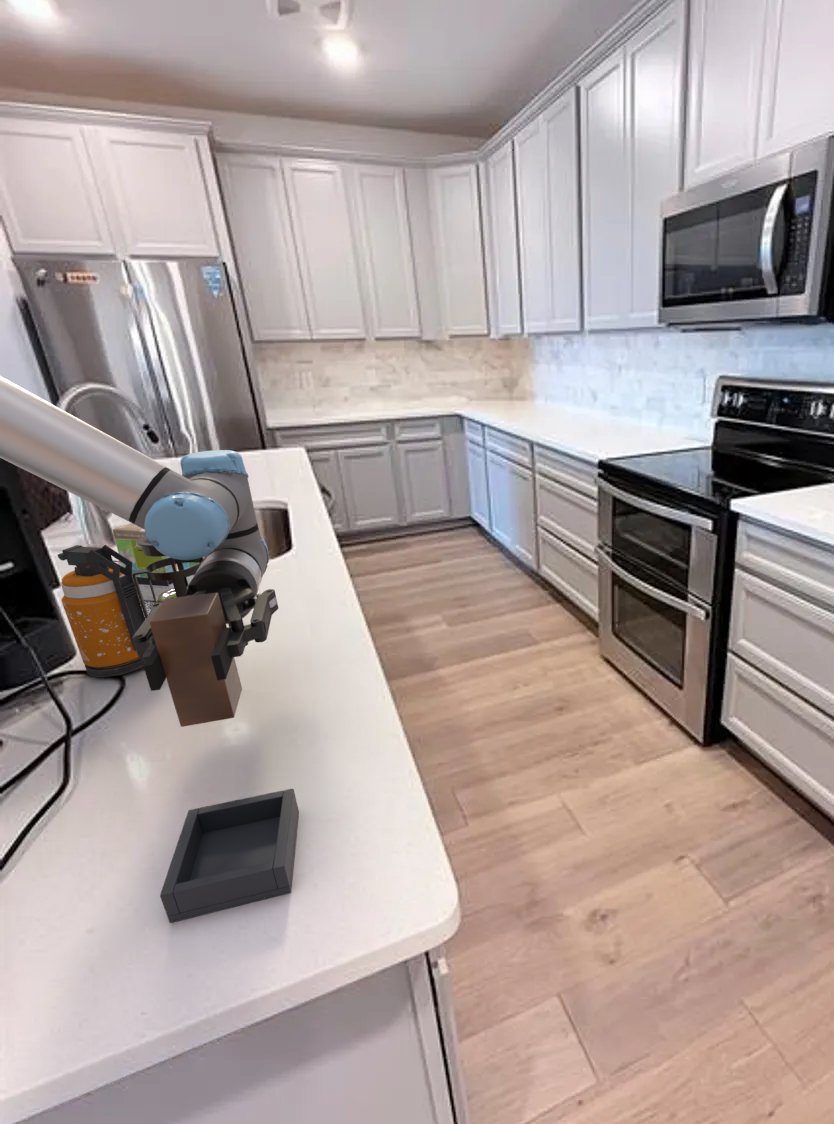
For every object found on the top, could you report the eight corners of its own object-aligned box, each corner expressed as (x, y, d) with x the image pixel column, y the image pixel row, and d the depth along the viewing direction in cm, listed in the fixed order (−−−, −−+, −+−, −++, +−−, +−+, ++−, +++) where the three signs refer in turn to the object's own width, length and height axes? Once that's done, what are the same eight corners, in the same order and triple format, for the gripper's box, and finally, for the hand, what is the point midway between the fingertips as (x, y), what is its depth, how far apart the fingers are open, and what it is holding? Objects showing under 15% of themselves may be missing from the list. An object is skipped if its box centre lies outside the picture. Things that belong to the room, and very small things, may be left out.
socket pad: (169, 923, 54) (159, 895, 53) (196, 834, 64) (188, 809, 63) (291, 892, 57) (284, 865, 56) (299, 812, 67) (293, 787, 65)
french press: (223, 610, 117) (193, 491, 108) (228, 628, 109) (196, 502, 100) (151, 625, 111) (113, 500, 102) (150, 645, 104) (109, 513, 95)
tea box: (175, 603, 120) (154, 530, 115) (130, 600, 122) (108, 528, 116) (226, 575, 134) (210, 509, 128) (186, 573, 136) (168, 508, 130)
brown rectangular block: (180, 727, 63) (148, 621, 58) (193, 697, 68) (164, 598, 64) (234, 718, 64) (207, 614, 60) (242, 689, 70) (218, 591, 65)
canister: (123, 650, 102) (85, 535, 95) (180, 656, 100) (146, 539, 92) (73, 677, 94) (27, 554, 86) (134, 684, 92) (93, 558, 84)
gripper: (305, 603, 83) (293, 689, 63) (154, 623, 78) (87, 724, 58) (295, 551, 81) (279, 623, 60) (137, 568, 75) (61, 653, 55)
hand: (185, 672), depth 59 cm, fingers closed on brown rectangular block, 5 cm apart
